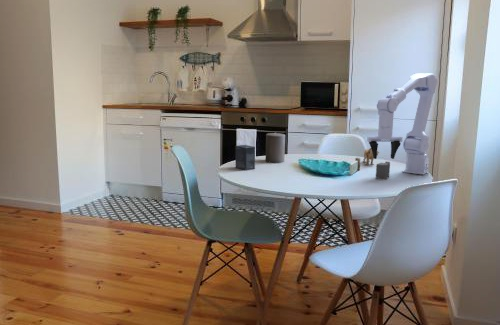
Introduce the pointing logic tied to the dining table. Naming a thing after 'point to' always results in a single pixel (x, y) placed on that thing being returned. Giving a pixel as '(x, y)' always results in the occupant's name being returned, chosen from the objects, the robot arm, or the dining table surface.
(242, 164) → the box
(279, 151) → the pillar candle
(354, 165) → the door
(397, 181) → the dining table surface
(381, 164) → the block
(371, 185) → the dining table surface
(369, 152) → the lion figurine
